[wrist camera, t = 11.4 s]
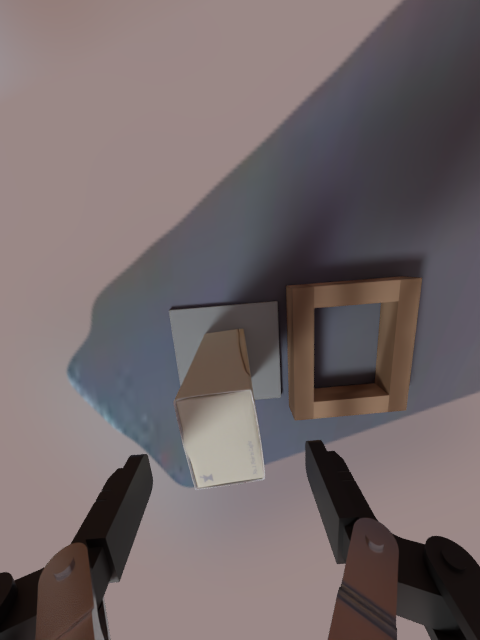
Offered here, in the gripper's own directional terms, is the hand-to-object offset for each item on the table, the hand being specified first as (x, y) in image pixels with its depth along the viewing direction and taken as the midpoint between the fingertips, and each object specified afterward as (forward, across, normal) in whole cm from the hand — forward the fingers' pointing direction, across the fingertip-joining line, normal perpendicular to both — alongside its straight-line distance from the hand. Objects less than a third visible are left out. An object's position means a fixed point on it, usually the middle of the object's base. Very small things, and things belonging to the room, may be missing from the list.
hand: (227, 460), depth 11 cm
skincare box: (+14, 0, 0) cm, 14 cm away
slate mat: (+14, 0, 0) cm, 14 cm away
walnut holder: (+14, -12, 0) cm, 18 cm away
